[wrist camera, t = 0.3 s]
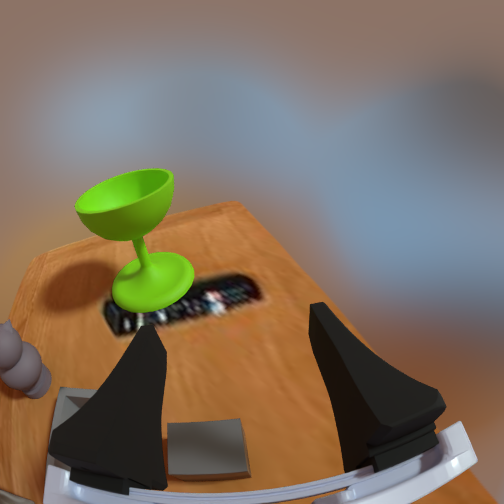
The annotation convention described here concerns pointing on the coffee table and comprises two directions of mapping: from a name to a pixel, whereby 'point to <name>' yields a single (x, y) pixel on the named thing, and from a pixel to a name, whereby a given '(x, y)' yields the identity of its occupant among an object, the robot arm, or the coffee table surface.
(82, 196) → the wineglass
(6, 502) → the coffee box
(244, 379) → the coffee table surface
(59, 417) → the bay
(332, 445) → the coffee table surface
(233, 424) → the brown block
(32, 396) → the grey stacked figurine
